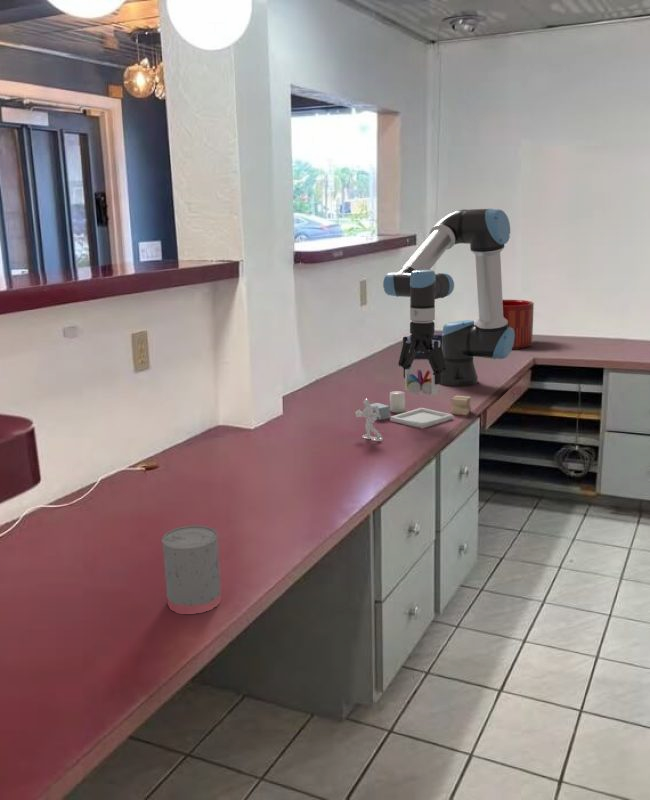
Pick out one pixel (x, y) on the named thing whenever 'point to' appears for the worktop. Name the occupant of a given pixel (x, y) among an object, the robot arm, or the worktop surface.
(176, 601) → the speckled grey cylinder
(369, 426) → the figurine
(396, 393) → the white domed cylinder
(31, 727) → the worktop surface
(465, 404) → the oak block
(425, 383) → the multicoloured rounded cluster
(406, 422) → the tray
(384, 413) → the slate block
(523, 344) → the planter
